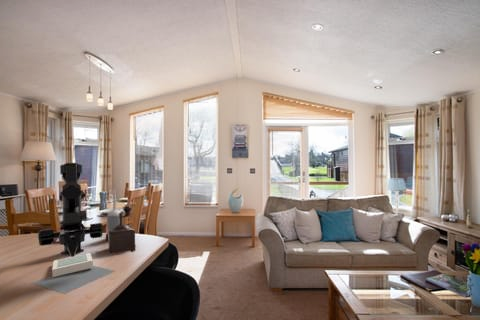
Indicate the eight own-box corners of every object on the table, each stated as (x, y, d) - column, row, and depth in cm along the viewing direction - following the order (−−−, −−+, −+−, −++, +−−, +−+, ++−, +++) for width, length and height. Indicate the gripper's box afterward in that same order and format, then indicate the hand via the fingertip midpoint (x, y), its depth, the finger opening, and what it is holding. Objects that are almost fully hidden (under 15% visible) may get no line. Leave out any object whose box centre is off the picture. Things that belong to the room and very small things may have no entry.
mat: (31, 285, 88) (31, 283, 88) (84, 265, 104) (84, 263, 104) (64, 296, 81) (64, 293, 81) (115, 273, 97) (115, 270, 97)
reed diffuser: (125, 236, 144) (124, 188, 144) (121, 240, 136) (120, 190, 136) (109, 236, 143) (108, 188, 143) (103, 241, 135) (102, 190, 135)
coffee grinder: (137, 250, 121) (136, 209, 121) (109, 255, 115) (109, 212, 115) (132, 241, 134) (131, 204, 134) (107, 245, 129) (106, 207, 129)
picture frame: (52, 277, 92) (54, 267, 103) (93, 267, 98) (90, 259, 109) (52, 269, 92) (53, 260, 103) (92, 259, 98) (90, 252, 109)
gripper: (38, 205, 90) (35, 248, 80) (102, 200, 99) (105, 238, 90) (40, 224, 96) (38, 266, 87) (100, 218, 106) (103, 255, 97)
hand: (72, 256), depth 90 cm, fingers closed
